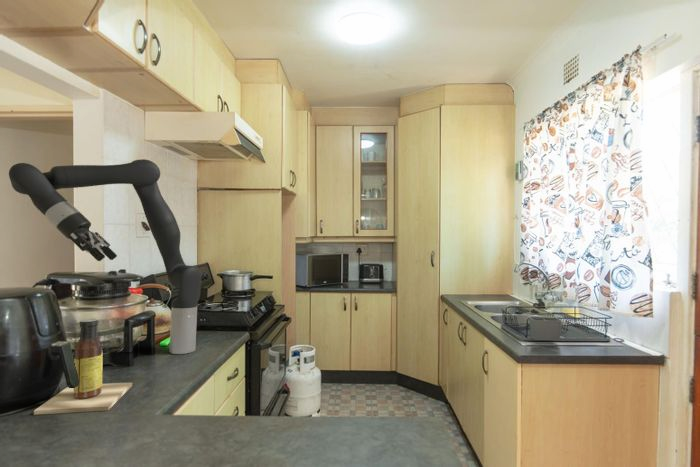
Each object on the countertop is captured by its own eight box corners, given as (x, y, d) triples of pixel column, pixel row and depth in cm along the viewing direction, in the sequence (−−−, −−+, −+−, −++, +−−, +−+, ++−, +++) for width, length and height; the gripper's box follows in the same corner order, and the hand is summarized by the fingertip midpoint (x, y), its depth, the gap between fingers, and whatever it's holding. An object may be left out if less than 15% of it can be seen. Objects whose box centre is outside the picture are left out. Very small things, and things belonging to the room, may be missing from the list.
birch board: (69, 388, 103) (69, 385, 103) (132, 386, 107) (132, 382, 107) (33, 414, 88) (34, 410, 88) (108, 410, 91) (108, 406, 91)
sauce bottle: (107, 391, 100) (111, 318, 101) (88, 400, 94) (93, 322, 94) (85, 389, 101) (89, 317, 101) (65, 398, 94) (69, 321, 95)
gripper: (65, 209, 104) (108, 250, 106) (90, 213, 118) (127, 250, 120) (43, 227, 103) (87, 268, 105) (70, 229, 117) (108, 265, 119)
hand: (108, 258), depth 112 cm, fingers open, 8 cm apart
